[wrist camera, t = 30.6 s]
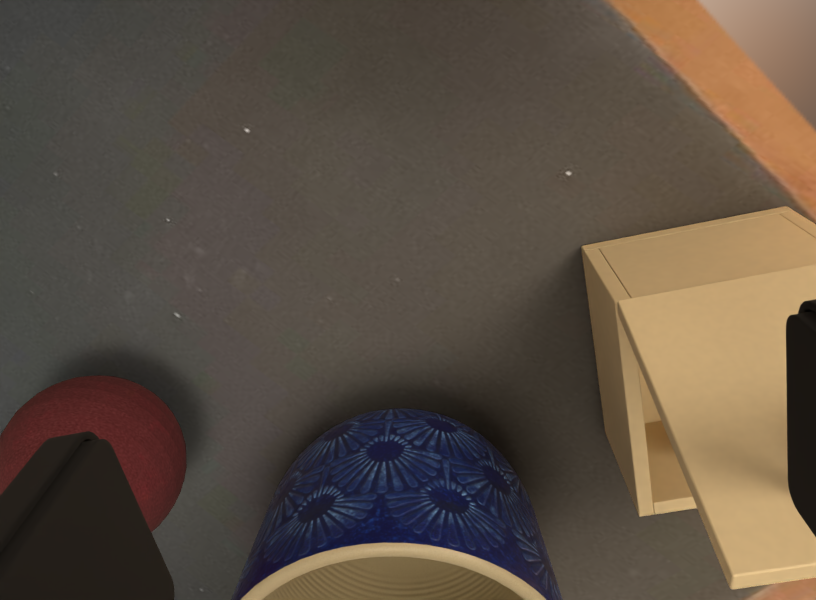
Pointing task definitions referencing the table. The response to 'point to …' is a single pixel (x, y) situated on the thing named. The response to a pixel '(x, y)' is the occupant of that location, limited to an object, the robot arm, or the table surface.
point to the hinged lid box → (659, 272)
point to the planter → (399, 519)
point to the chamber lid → (730, 412)
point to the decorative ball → (105, 435)
